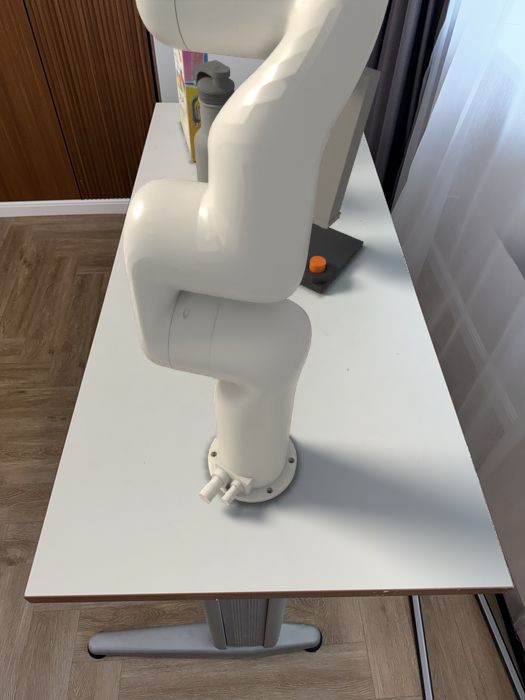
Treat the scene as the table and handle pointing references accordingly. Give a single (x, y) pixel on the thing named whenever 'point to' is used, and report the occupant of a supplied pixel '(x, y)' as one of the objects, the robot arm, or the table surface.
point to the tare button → (317, 264)
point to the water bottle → (208, 106)
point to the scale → (328, 256)
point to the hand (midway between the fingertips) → (330, 91)
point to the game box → (188, 93)
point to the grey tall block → (343, 150)
